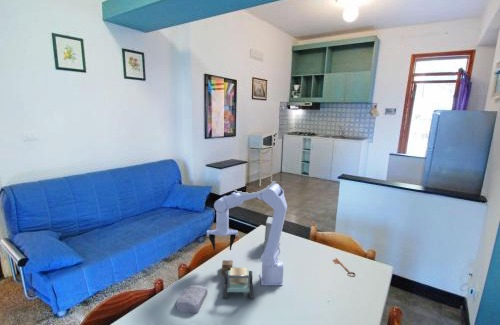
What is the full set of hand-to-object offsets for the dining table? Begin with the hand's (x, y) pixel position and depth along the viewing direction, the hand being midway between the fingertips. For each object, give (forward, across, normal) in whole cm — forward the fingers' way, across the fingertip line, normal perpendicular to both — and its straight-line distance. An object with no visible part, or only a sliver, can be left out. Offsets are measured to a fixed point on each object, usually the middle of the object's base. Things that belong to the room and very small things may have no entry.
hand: (222, 249), depth 124 cm
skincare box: (+10, -26, -20) cm, 34 cm away
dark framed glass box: (+9, -8, +16) cm, 20 cm away
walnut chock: (+10, -3, +4) cm, 11 cm away
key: (+10, -59, 0) cm, 60 cm away
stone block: (+10, +11, +23) cm, 27 cm away
